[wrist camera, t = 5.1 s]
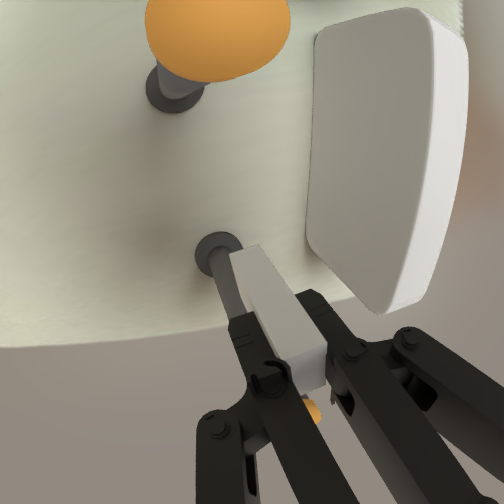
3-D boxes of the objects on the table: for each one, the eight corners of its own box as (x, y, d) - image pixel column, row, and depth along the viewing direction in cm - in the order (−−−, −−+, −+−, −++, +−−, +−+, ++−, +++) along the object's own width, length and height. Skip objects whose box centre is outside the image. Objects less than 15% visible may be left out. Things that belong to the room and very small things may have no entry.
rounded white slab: (347, 235, 41) (430, 306, 27) (303, 242, 39) (383, 326, 25) (363, 43, 27) (478, 38, 12) (313, 30, 25) (430, 3, 10)
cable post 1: (141, 68, 23) (86, -40, 3) (197, 54, 24) (305, -64, 4) (153, 119, 26) (124, 156, 6) (208, 104, 27) (344, 106, 7)
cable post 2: (189, 240, 34) (246, 428, 14) (236, 225, 35) (340, 389, 15) (202, 279, 37) (261, 453, 17) (245, 264, 38) (334, 423, 18)
